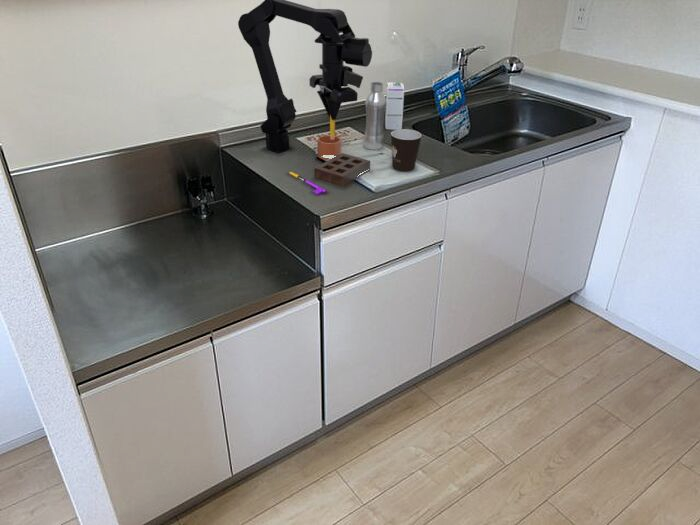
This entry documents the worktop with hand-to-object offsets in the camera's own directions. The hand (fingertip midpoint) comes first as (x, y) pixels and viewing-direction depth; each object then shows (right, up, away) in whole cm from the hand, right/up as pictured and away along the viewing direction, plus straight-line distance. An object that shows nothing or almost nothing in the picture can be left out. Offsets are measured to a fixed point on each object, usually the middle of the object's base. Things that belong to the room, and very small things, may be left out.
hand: (332, 118), depth 159 cm
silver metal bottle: (+12, -5, +17) cm, 22 cm away
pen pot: (-1, -9, +11) cm, 14 cm away
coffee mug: (+21, -12, +7) cm, 25 cm away
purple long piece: (-7, -20, -6) cm, 22 cm away
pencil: (0, -5, +3) cm, 6 cm away
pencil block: (+3, -16, -1) cm, 17 cm away
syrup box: (+20, +6, +34) cm, 40 cm away
